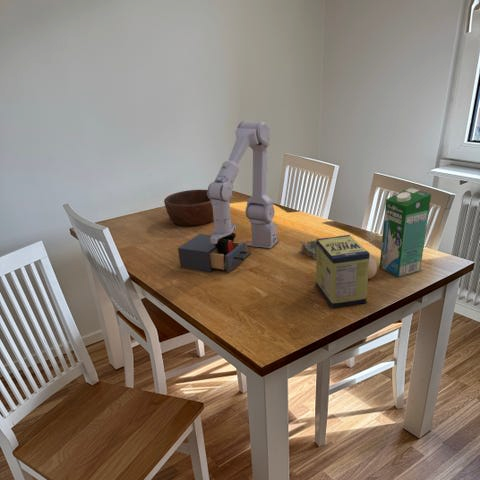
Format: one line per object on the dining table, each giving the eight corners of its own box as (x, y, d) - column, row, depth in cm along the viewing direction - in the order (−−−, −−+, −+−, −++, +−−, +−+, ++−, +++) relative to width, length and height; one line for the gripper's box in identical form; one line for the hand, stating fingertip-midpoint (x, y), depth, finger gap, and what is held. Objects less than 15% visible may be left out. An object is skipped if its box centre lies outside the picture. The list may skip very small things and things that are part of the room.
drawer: (256, 258, 162) (255, 243, 159) (239, 273, 152) (238, 257, 149) (219, 253, 168) (217, 238, 165) (200, 267, 158) (198, 252, 156)
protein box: (346, 280, 144) (349, 233, 136) (366, 303, 130) (371, 253, 122) (315, 285, 143) (315, 238, 135) (332, 308, 129) (333, 258, 121)
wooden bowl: (175, 211, 220) (172, 190, 214) (226, 210, 216) (224, 188, 211) (160, 229, 199) (156, 206, 193) (216, 228, 195) (214, 204, 190)
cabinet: (230, 256, 167) (228, 237, 164) (210, 272, 157) (208, 252, 153) (201, 252, 173) (199, 233, 169) (180, 267, 162) (177, 247, 158)
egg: (369, 273, 147) (371, 250, 143) (379, 279, 143) (382, 256, 138) (355, 276, 146) (356, 253, 142) (364, 283, 141) (366, 260, 137)
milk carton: (379, 267, 150) (386, 191, 137) (401, 261, 153) (410, 186, 140) (397, 277, 143) (407, 198, 130) (420, 270, 146) (431, 193, 133)
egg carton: (298, 251, 167) (298, 241, 165) (315, 246, 169) (315, 236, 167) (315, 260, 158) (315, 249, 156) (333, 255, 161) (333, 244, 159)
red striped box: (233, 259, 160) (232, 238, 156) (229, 262, 158) (227, 242, 154) (222, 257, 162) (220, 237, 158) (218, 260, 160) (216, 240, 156)
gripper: (222, 210, 159) (225, 246, 166) (200, 224, 149) (205, 262, 156) (240, 212, 156) (242, 249, 163) (219, 226, 146) (223, 265, 153)
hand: (225, 255), depth 159 cm, fingers closed on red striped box, 3 cm apart
